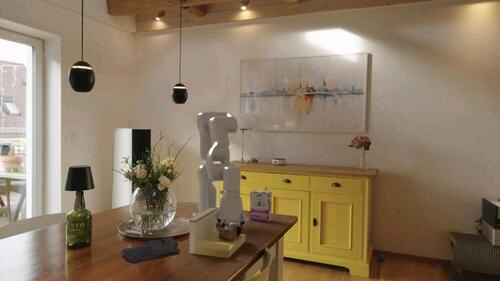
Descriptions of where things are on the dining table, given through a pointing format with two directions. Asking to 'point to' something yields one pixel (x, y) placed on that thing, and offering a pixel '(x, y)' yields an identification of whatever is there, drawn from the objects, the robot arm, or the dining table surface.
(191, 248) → the counter shelf
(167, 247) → the dark slate chunk
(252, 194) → the candy bar box
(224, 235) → the caddy
